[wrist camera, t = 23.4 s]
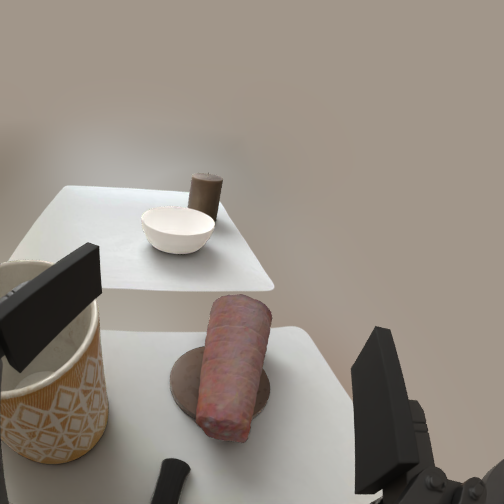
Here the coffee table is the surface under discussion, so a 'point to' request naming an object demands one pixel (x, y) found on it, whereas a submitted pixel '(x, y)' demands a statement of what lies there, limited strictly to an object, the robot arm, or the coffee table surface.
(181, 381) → the cake board
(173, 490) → the kitchen cleaver
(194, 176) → the pillar candle
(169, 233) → the bowl
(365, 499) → the coffee table surface
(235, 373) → the food
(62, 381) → the planter
